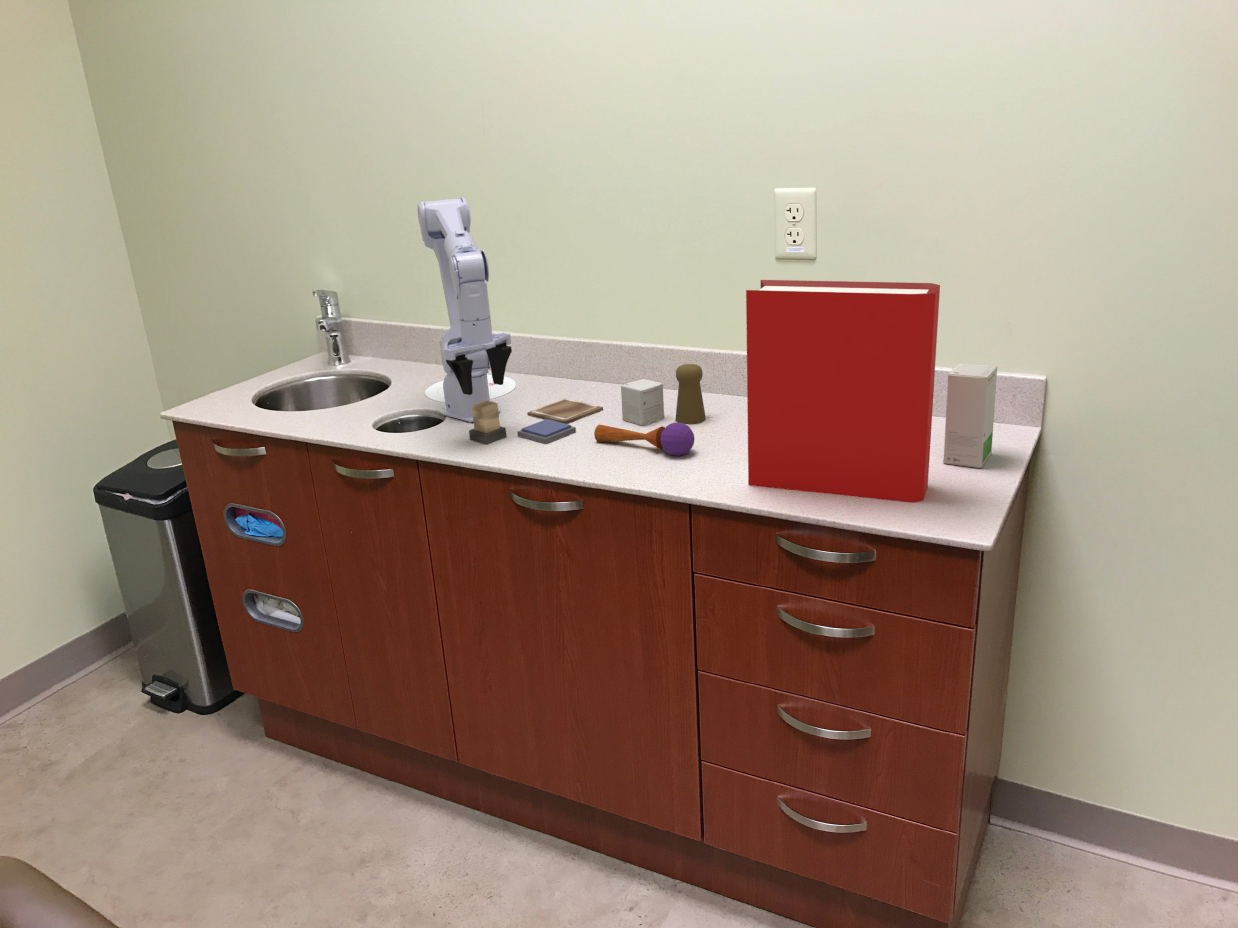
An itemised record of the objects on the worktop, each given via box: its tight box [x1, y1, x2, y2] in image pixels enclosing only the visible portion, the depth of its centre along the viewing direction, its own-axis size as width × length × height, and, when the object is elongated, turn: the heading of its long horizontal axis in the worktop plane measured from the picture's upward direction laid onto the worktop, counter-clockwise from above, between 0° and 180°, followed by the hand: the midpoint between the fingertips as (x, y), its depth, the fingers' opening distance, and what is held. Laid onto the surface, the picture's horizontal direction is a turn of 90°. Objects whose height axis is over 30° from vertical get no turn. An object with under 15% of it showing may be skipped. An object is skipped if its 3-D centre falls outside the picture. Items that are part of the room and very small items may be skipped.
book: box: [745, 279, 941, 504], centre depth 149 cm, size 27×8×32 cm, turn 66°
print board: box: [526, 398, 604, 424], centre depth 198 cm, size 11×11×1 cm
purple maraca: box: [593, 421, 695, 457], centre depth 175 cm, size 6×6×20 cm
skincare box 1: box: [620, 378, 665, 426], centre depth 190 cm, size 6×6×7 cm
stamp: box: [468, 400, 508, 446], centre depth 185 cm, size 5×5×7 cm
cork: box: [675, 363, 707, 425], centre depth 188 cm, size 6×6×11 cm
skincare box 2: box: [942, 362, 998, 469], centre depth 159 cm, size 8×7×16 cm
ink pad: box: [516, 419, 577, 445], centre depth 186 cm, size 8×8×2 cm
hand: (483, 389), depth 183 cm, fingers open, 7 cm apart
